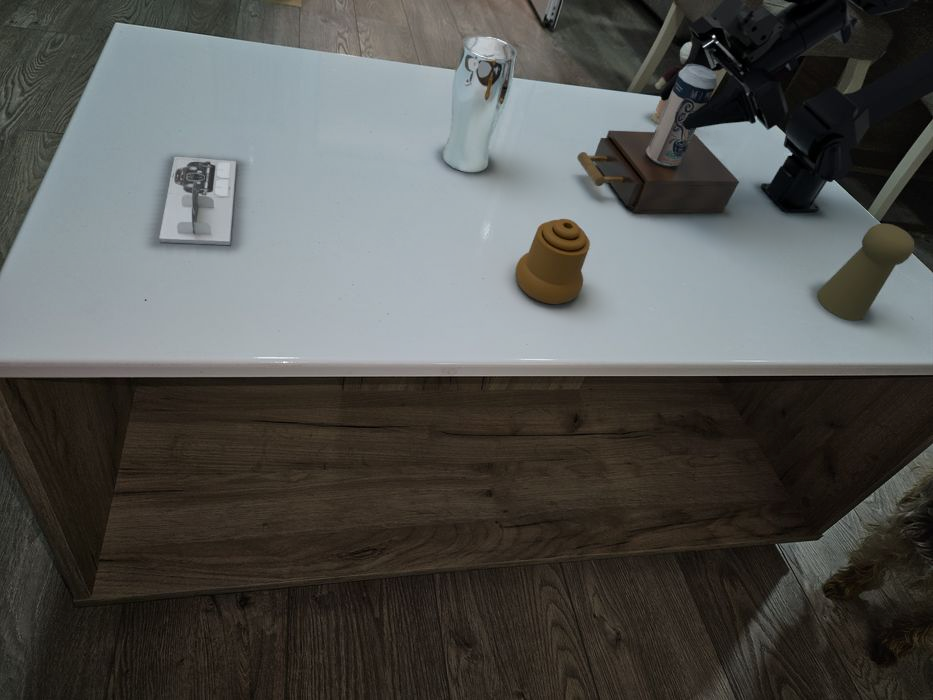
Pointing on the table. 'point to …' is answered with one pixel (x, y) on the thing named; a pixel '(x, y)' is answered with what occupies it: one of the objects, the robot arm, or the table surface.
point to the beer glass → (478, 100)
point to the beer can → (680, 114)
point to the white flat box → (199, 202)
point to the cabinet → (677, 177)
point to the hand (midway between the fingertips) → (672, 111)
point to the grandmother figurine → (668, 76)
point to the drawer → (613, 171)
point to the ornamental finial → (554, 262)
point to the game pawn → (866, 272)
